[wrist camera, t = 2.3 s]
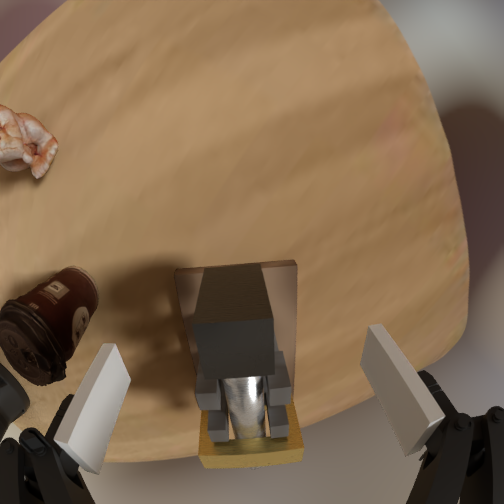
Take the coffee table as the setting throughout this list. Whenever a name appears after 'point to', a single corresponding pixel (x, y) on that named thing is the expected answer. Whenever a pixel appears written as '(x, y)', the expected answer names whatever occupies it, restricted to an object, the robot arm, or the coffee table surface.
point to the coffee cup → (48, 325)
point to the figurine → (25, 143)
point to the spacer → (252, 447)
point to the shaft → (237, 341)
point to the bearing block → (285, 319)
